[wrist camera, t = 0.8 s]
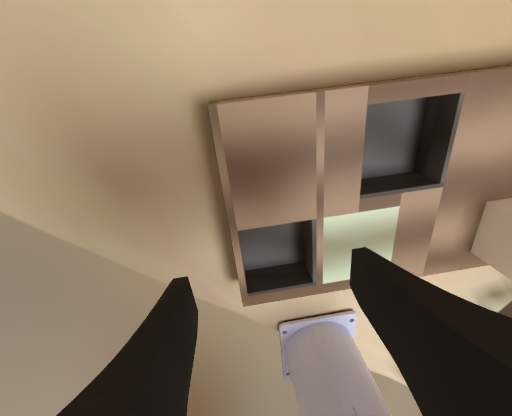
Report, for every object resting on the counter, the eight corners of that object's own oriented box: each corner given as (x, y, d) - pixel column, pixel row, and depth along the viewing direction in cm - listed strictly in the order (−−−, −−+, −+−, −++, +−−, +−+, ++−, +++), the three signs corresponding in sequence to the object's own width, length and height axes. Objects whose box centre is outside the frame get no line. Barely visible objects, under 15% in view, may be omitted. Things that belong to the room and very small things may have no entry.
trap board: (489, 239, 24) (522, 259, 22) (240, 280, 23) (243, 306, 20) (554, 59, 18) (613, 55, 15) (209, 102, 16) (207, 105, 14)
